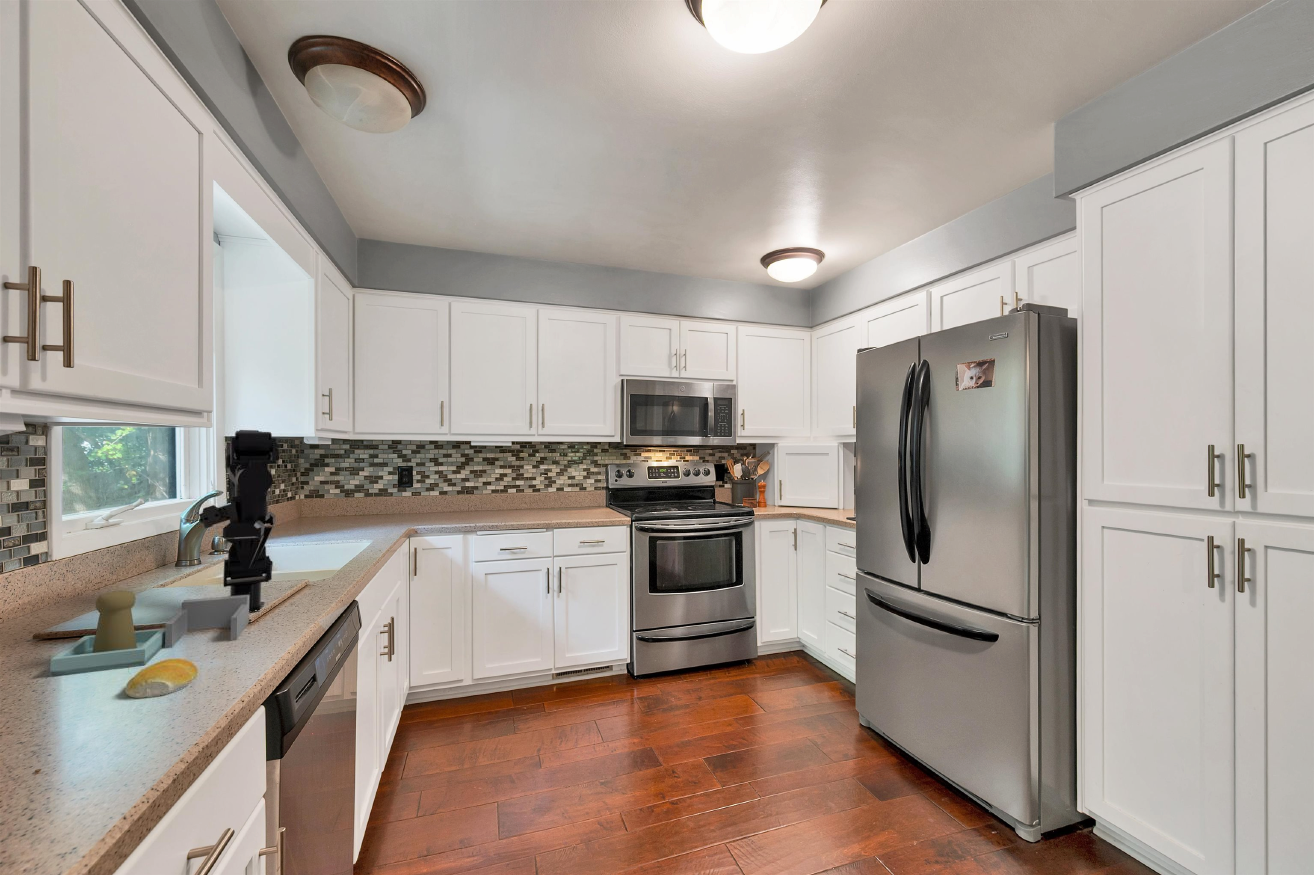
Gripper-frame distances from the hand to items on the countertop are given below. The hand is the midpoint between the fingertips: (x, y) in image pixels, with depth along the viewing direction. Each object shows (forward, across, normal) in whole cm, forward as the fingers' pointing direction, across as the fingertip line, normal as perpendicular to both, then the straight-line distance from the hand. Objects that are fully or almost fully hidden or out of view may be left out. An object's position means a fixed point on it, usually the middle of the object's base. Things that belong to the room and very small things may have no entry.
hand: (250, 564), depth 119 cm
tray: (+13, +11, -18) cm, 25 cm away
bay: (+13, +3, -6) cm, 15 cm away
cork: (+12, +11, -18) cm, 24 cm away
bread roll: (+14, +28, -6) cm, 32 cm away
